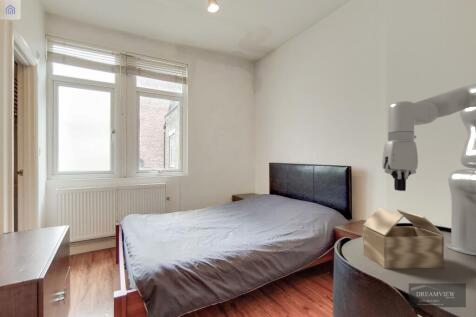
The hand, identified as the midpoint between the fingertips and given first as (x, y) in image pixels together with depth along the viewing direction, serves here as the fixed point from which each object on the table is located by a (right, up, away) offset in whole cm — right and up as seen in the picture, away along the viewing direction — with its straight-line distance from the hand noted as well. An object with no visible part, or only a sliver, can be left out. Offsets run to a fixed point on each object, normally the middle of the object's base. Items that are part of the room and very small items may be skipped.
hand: (399, 190), depth 83 cm
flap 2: (+7, -11, 0) cm, 13 cm away
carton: (0, -24, 0) cm, 24 cm away
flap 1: (-6, -11, 0) cm, 12 cm away
